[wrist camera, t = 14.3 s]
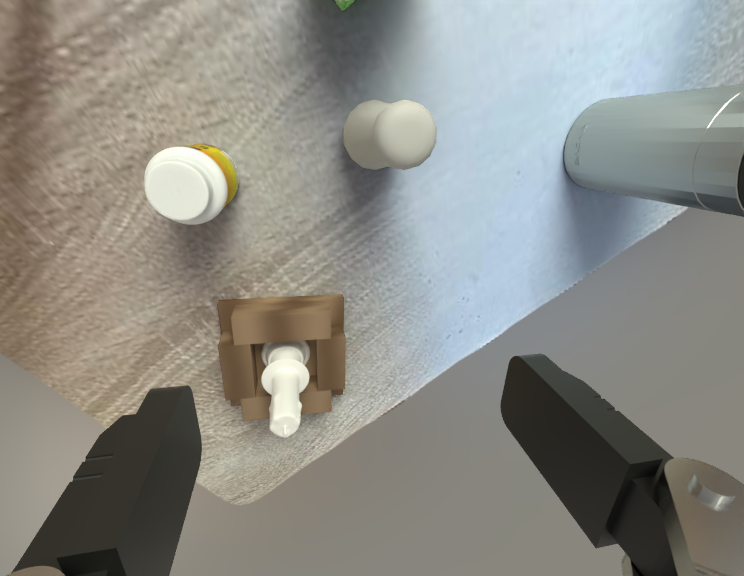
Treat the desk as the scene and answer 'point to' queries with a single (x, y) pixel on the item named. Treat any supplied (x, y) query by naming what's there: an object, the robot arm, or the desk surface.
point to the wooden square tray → (281, 324)
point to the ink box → (344, 3)
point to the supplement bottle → (191, 182)
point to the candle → (285, 383)
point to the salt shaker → (389, 134)
